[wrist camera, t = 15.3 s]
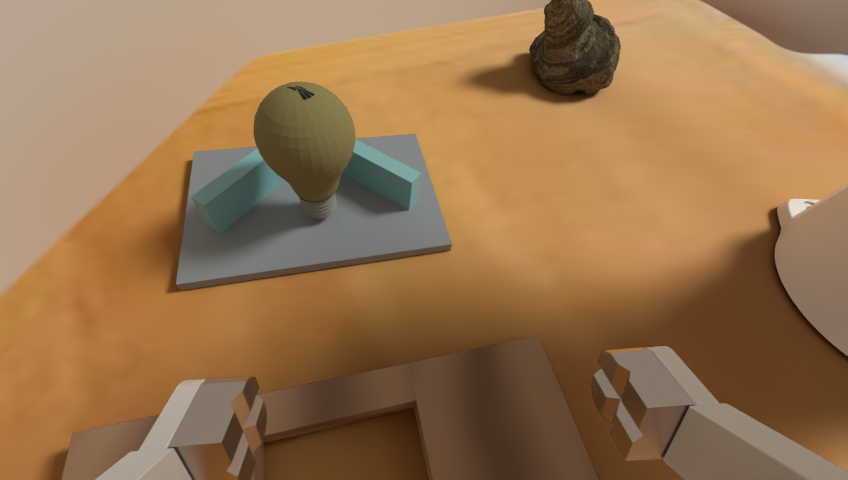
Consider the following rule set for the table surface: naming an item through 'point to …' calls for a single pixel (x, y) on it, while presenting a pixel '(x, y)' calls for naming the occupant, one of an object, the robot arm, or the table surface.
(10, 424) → the table surface
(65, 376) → the table surface
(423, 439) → the wooden board with hole
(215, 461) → the robot arm
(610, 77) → the seashell
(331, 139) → the light bulb
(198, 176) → the V-block
